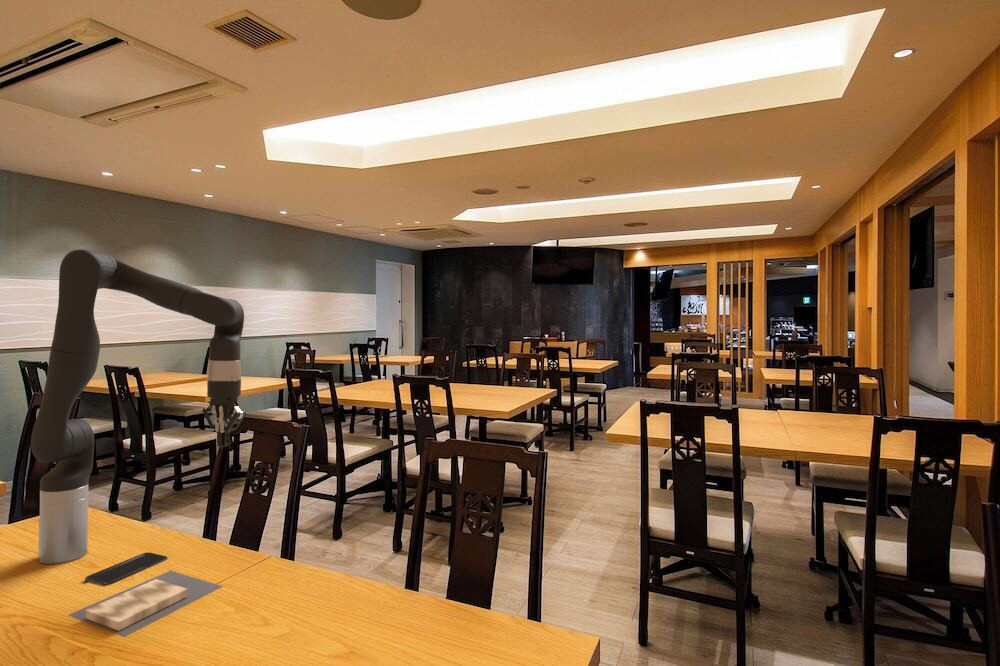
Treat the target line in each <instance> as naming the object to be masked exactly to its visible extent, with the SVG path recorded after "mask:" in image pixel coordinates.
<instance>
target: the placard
mask: <svg viewBox="0 0 1000 666" xmlns="http://www.w3.org/2000/svg"><path fill="white" fill-rule="evenodd" d="M186 597H188V589H186V588H183V587H180V586H177V585H174V584H170V583H167V582H164V581H161V580H157V579H155V580H153V581H150V582H148V583H146V584H143V585H141V586H139V587H137V588H134V589H132V590H130V591H127V592H125V593H123V594H121V595H118V596H116V597H114V598H111V599H109V600H107V601H105V602H102V603H100V604H98V605H95V606H93V607H91V608H89V609H86V610H85V618H86V619H89V620H91V621H94V622H97V623H99V624H102V625H105V626H107V627H110V628H112V629H115V630H118V631H119V630H121V629H123V628H125V627H127V626H129V625H131V624H133V623H135V622H137V621H139V620H141V619H143V618H145V617H147V616H149V615H151V614H153V613H155V612H157V611H159V610H161V609H163V608H165V607H167V606H169V605H172V604H174V603H176V602H178V601H180V600H182V599H184V598H186Z"/></svg>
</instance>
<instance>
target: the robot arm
mask: <svg viewBox="0 0 1000 666" xmlns="http://www.w3.org/2000/svg"><path fill="white" fill-rule="evenodd" d="M58 278H59V279H58V301H57V302H58V304H57V313H56V317H55V324H54V331H53V337H52V343H51V345H50V346H51V348H50V351H49V358H48V366H47V374H46V380H45V385H44V388H43V389H44V390H43V395H42V399H41V403H40V406H39V408H38V409H39V410H38V412H37V413H38V414H37V416H36V420H35V423H34V426H33V429H32V433H31V438H30V439H31V442H30V447H31V452H32V454H33V457H34V458H35V459H36V460H37V461H38V462H40V463H44V464H49V463H50V464H51V463H54V462H55V463H56V462H57V463H56V465H54V467H53V468H52V469H51V470H50V471H48V472H47V473H45V474H44V475H43V476H42V477H41V478H40V480H39V519H38V558H39V560H38V561H39V563H41V564H45V565H46V564H47V565H51V564H52V565H53V564H54V565H55V564H62V563H67V562H71V561H74V560H76V559H79V558H81V557H84V556H85V555H86V554H87V553H88V551H89V549H88V545H89V544H88V543H89V541H88V540H89V478H90V475H91V474H92V472H93V467H94V466H93V465H94V463H93V462H94V454H95V453H94V451H95V433H94V431H93V428H92V425H91V424H90V423H89V422H88V421H87V420H84V419H82V418H73V419H69V418H70V414H71V410H72V407H73V405H74V403H75V402H76V400H77V399H78V397H79V396H80V394H82V392H83V391H84V390H85V388H86V386H87V385H88V384H89V383H90V381H92V378H93V377H94V375H95V373H96V371H97V368H98V363H99V357H100V351H101V339H100V334H99V330H98V327H97V324H96V320H95V305H96V304H95V303H96V299H97V294H98V291H99V290H101V289H107V290H113V291H119V292H124V293H129V294H131V295H134V296H137V297H139V298H142V299H144V300H146V301H147V302H150V303H151V304H154V305H156V306H159V307H161V308H163V309H166V310H170V311H173V312H176V313H178V314H182V315H185V316H186V315H187V316H190V317H193V318H195V319H196V320H200V321H203V322H204V323H207V324H210V325H213V326H214V332H213V336H212V338H211V339H210V341H209V345H208V346H209V347H208V348H209V349H208V351H209V352H208V366H207V379H206V380H207V383H206V384H207V388H206V389H207V391H206V392H207V393H206V395H207V397H208V398H209V399H210V400H209V405H208V406H207V407H205V408H204V407H203V408H202V411H201V412H202V414H203V415H204V417H205V419H206V421H207V423H208V425H209V428H210V429H212V430H213V429H214V430H215V432H216V445H217V447H218V448H227V447H229V446H230V443H231V431H235V430H237V428H239V426H240V424H241V423H242V421H243V420H244V419H245V417H246V414H247V413H246V411H245V410H241V409H240V408H239V407H240V404H239V401H238V400H239V399H238V398H239V397H240V396H242V395H241V394H242V366H241V339H242V335H243V330H244V329H243V328H244V322H245V313H244V307H243V306H242V304H241V303H240V302H239V301H238V300H235V299H231V298H225V297H221V296H217V295H214V294H211V293H207V292H203V291H202V289H198V288H196V287H193V286H191V285H187V284H184V283H181V282H178V281H174V280H171V279H168V278H164V277H161V276H157V275H154V274H152V273H148V272H146V271H143V270H140V269H138V268H135V267H134V266H131V265H129V264H127V263H125V262H123V261H122V260H119V259H117V258H115V257H113V256H112V255H110V254H107V253H105V252H102V251H100V250H91V249H74V250H71V251H70V252H68V253H66V255H65V256H64V257H63V258H62V260H61V263H60V267H59V277H58Z"/></svg>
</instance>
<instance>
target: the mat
mask: <svg viewBox="0 0 1000 666" xmlns="http://www.w3.org/2000/svg"><path fill="white" fill-rule="evenodd" d="M155 579H157V580H161V581H164V582H167V583H170V584H174V585H177V586H180V587H183V588H186V589H188V597H186V598H184V599H182V600H180V601H178V602H176V603H174V604H172V605H169V606H167V607H165V608H163V609H161V610H159V611H157V612H155V613H153V614H151V615H149V616H147V617H145V618H143V619H141V620H139V621H137V622H135V623H133V624H131V625H129V626H127V627H125V628H123V629H121V630H119V631H118V630H115V629H112V628H110V627H107V626H105V625H102V624H99V623H97V622H94V621H91V620H89V619H86V618H85V610H86V609H89V608H91V607H93V606H95V605H98V604H100V603H102V602H105V601H107V600H109V599H111V598H114V597H116V596H118V595H121V594H123V593H125V592H127V591H130V590H132V589H134V588H137V587H139V586H141V585H143V584H146V583H148V582H150V581H153V580H155ZM222 587H223V588H224V586H223V585H221V584H217V583H213V582H209V581H207V580H203V579H199V578H196V577H193V576H191V575H187V574H183V573H180V572H176V571H173V570H169V571H166V572H163V573H162V574H159V575H157V576H155V577H153V578H152V577H151V578H150V579H148V580H145V581H143V582H141V583H139V584H137V585H135V586H132V587H129V588H127V589H125V590H123V591H120V592H118V593H116V594H113V595H111V596H109V597H106V598H104V599H102V600H98V601H97V602H95V603H92V604H90V605H88V606H85V607H83V608H82V609H81V608H80V609H79V610H76V611H74V612H72V613H69V614H68V616H70V617H72V618H74V619H77V620H80V621H83V622H86V623H89V625H90V624H91V625H93V626H95V627H98V628H101V629H104V630H107V631H109V632H111V633H114V634H117V635H119V636H122V637H127V636H129V635H131V634H134V633H135V632H136V631H138V630H140V629H143V628H145V627H147V626H148V625H151V624H152V623H154V622H156V621H159V620H160V619H162V618H164V617H166V616H169V615H170V614H173V613H174V612H176V611H178V610H179V609H181V608H184V607H186V606H188V605H190V604H191V603H193V602H196V601H197V600H199V599H201V598H203V597H206V596H208V595H209V594H212V593H213V592H215V591H217V590H219V589H221V588H222Z"/></svg>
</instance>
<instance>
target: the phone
mask: <svg viewBox="0 0 1000 666" xmlns="http://www.w3.org/2000/svg"><path fill="white" fill-rule="evenodd" d="M168 559H169V558H168V556H166V555H163V554H158V553H153V552H143V553H140V554H138V555H136V556H133V557H130V558H128V559H126V560H124V561H121V562H119V563H117V564H114V565H112V566H109V567H107V568H106V567H105V568H104V569H101V570H99V571H97V572H95V573H94V572H93V573H91V574H89V575H87V576H85V578H84V582H85V583H86V584H87V583H92V584H97V585H100V586H105V587H106V586H110V585H113V584H116V583H118V582H119V581H120V582H121V581H122V580H125V579H126V578H129V577H131V576H134V575H136V574H138V573H140V572H142V571H145V570H148V569H150V568H152V567H154V566H156V565H158V564H161V563H163V562H165V561H167V560H168Z"/></svg>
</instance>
